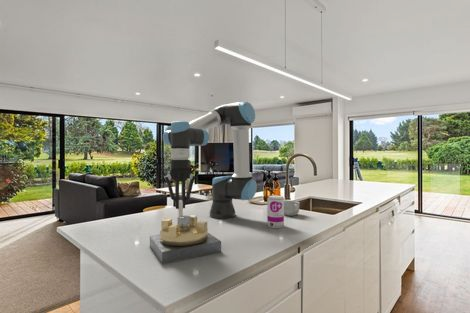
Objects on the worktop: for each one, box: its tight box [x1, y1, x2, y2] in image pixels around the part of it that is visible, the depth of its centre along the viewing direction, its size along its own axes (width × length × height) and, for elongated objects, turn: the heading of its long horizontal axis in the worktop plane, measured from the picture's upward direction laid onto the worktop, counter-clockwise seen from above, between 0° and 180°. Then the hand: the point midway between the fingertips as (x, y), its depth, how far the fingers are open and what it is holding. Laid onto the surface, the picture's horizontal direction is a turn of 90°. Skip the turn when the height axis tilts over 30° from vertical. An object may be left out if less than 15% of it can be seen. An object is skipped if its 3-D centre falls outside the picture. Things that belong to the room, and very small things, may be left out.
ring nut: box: [159, 214, 209, 246], centre depth 104 cm, size 18×18×8 cm
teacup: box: [284, 200, 300, 217], centre depth 158 cm, size 14×11×8 cm
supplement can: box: [266, 194, 285, 229], centre depth 135 cm, size 8×8×15 cm
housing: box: [149, 232, 222, 265], centre depth 104 cm, size 20×22×4 cm
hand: (180, 216), depth 111 cm, fingers closed
